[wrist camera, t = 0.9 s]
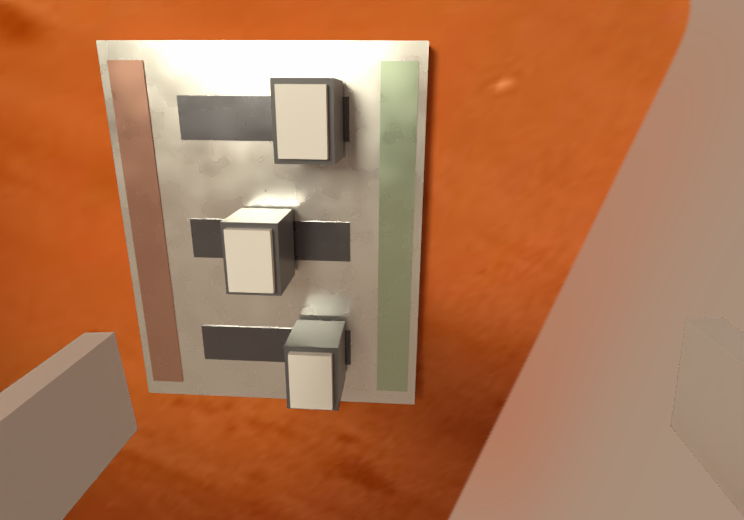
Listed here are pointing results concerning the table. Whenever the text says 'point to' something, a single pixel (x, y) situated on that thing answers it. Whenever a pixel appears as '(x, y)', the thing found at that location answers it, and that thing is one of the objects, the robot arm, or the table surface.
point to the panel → (272, 191)
